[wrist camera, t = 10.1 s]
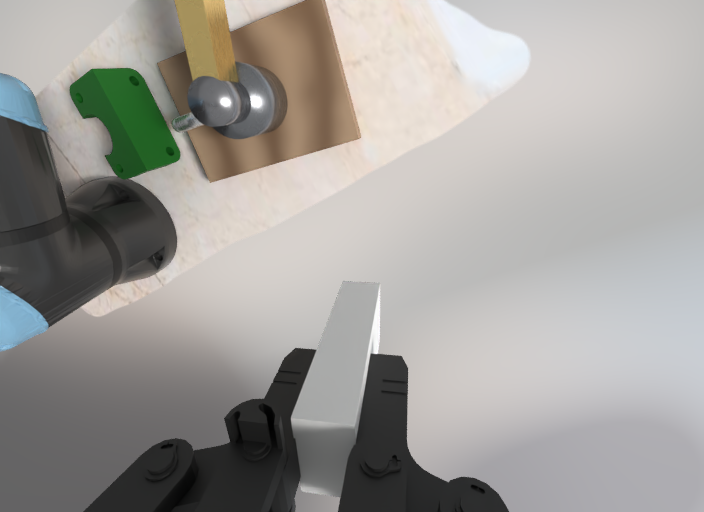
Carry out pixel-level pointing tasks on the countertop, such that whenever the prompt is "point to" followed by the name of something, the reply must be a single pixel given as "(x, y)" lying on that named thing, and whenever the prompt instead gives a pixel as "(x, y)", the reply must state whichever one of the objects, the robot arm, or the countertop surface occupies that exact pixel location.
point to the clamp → (126, 119)
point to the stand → (300, 85)
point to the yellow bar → (211, 64)
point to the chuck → (264, 105)
